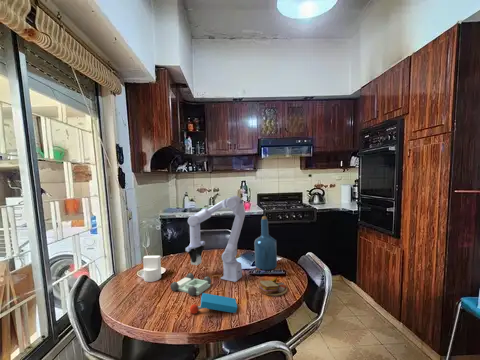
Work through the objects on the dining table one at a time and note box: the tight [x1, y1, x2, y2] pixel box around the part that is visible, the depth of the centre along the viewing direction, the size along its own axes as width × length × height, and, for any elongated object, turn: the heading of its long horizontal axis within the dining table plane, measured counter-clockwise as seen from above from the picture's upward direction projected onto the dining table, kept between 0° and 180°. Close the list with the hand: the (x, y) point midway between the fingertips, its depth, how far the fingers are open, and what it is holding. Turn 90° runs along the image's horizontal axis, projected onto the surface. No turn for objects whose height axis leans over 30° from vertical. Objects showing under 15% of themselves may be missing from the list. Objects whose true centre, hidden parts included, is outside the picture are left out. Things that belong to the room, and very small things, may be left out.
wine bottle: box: [253, 215, 278, 271], centre depth 140 cm, size 14×13×30 cm
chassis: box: [170, 272, 212, 297], centre depth 116 cm, size 16×13×4 cm
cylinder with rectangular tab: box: [142, 255, 162, 283], centre depth 129 cm, size 9×9×12 cm
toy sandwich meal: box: [258, 276, 288, 297], centre depth 111 cm, size 12×14×5 cm
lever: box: [189, 292, 238, 315], centre depth 96 cm, size 7×7×18 cm
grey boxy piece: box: [190, 254, 202, 266], centre depth 131 cm, size 4×4×5 cm
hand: (196, 260), depth 131 cm, fingers closed on grey boxy piece, 4 cm apart
